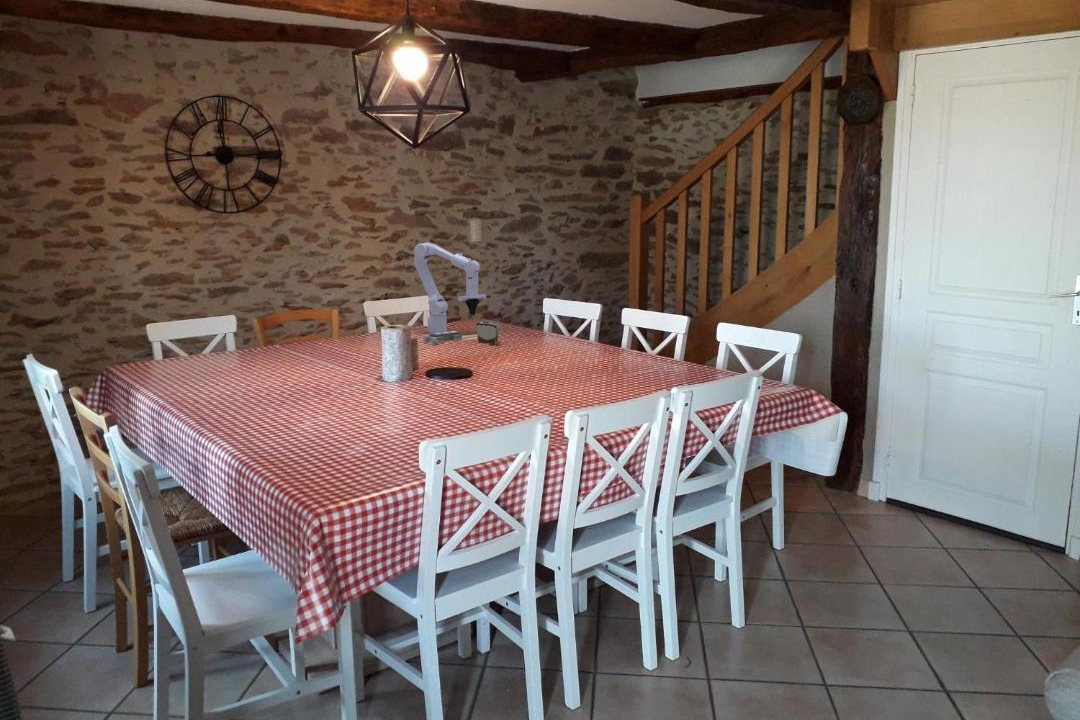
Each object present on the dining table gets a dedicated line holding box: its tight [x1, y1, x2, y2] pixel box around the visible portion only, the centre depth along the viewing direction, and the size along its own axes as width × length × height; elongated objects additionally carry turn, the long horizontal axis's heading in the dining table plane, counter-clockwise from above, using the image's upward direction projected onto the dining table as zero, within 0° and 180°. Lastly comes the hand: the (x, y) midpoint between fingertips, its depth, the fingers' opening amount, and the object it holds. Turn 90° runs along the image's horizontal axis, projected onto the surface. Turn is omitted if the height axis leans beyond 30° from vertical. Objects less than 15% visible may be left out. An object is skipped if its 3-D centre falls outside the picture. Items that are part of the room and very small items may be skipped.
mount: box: [420, 333, 478, 346], centre depth 388 cm, size 10×33×3 cm, turn 129°
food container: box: [475, 320, 501, 347], centre depth 380 cm, size 12×6×10 cm, turn 58°
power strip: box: [429, 330, 462, 341], centre depth 384 cm, size 4×14×4 cm, turn 129°
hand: (472, 314), depth 398 cm, fingers closed
